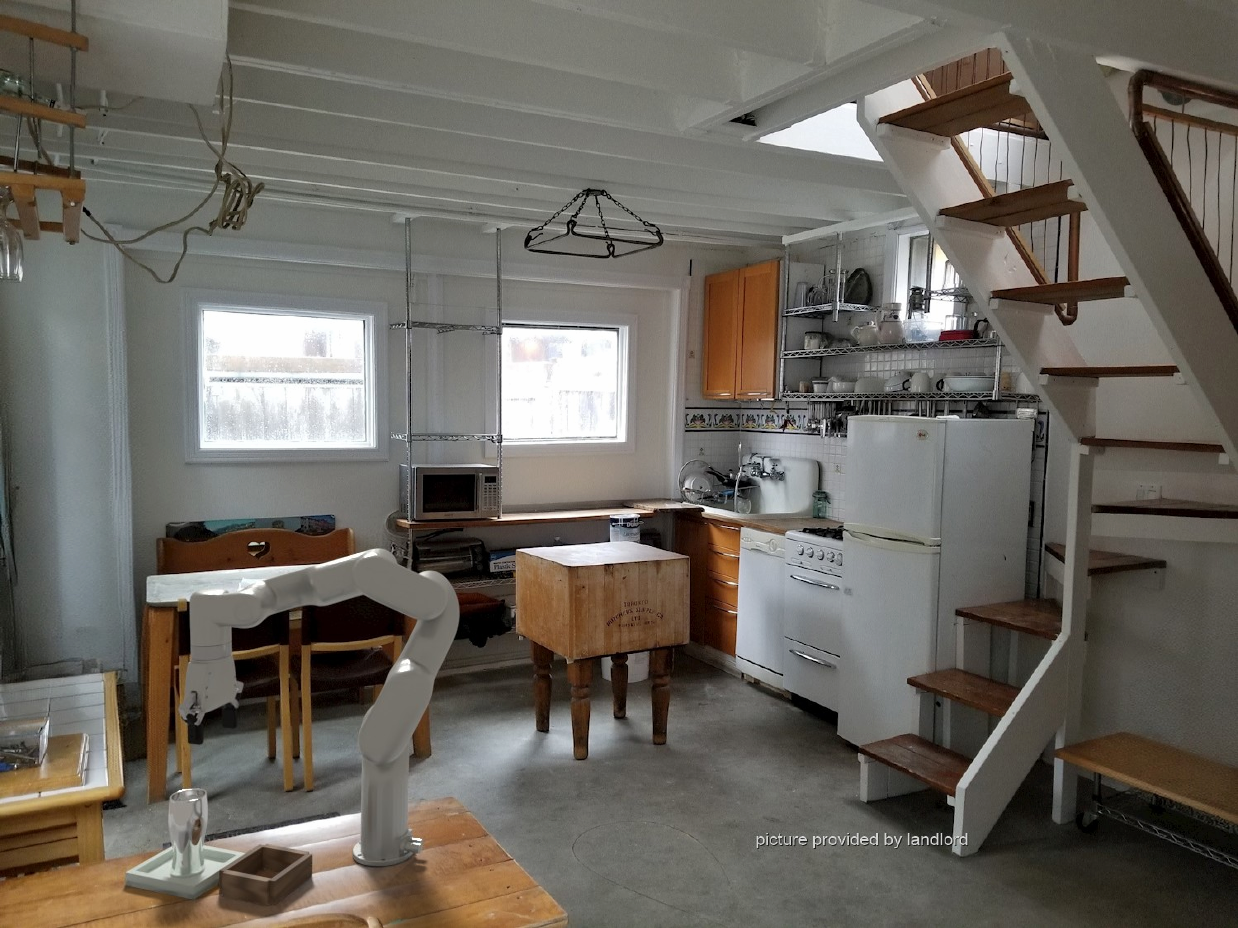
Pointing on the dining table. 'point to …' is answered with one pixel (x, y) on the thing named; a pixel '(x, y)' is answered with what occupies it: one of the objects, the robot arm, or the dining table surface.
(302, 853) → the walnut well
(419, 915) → the dining table surface
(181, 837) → the beer glass
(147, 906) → the dining table surface
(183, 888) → the sage tray
